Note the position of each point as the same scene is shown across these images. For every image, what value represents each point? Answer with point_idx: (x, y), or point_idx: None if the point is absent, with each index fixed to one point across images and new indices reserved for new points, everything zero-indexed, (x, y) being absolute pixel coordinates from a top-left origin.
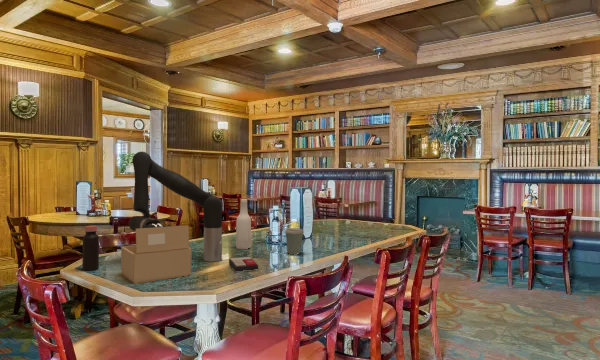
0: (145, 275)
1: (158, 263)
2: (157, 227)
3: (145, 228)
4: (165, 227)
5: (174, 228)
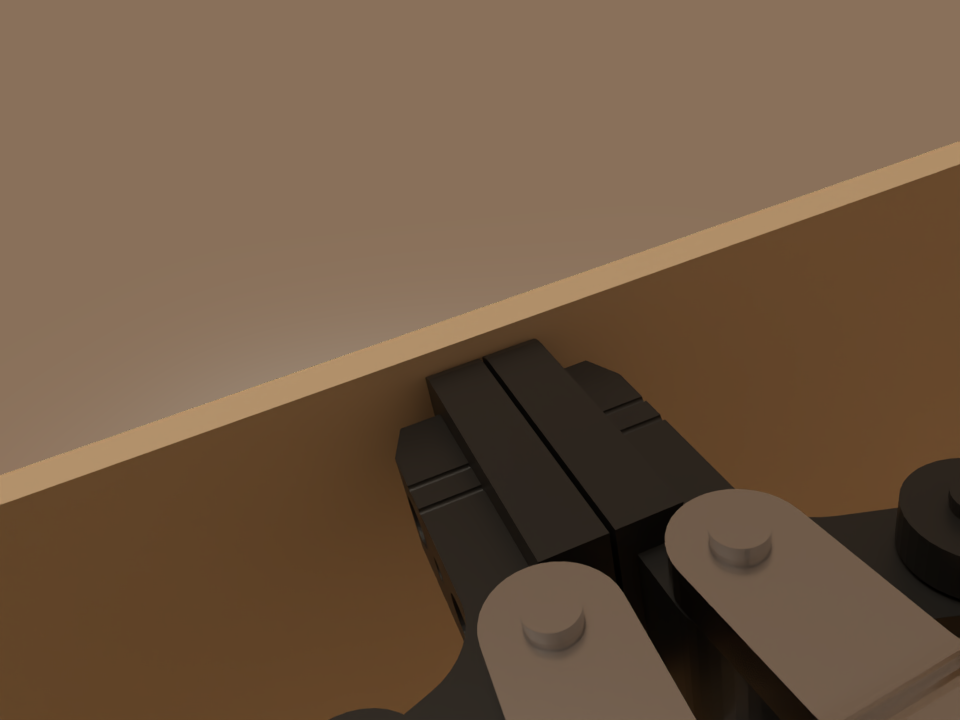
0: None
1: None
2: (629, 261)
3: (937, 159)
4: (386, 364)
5: (89, 518)
